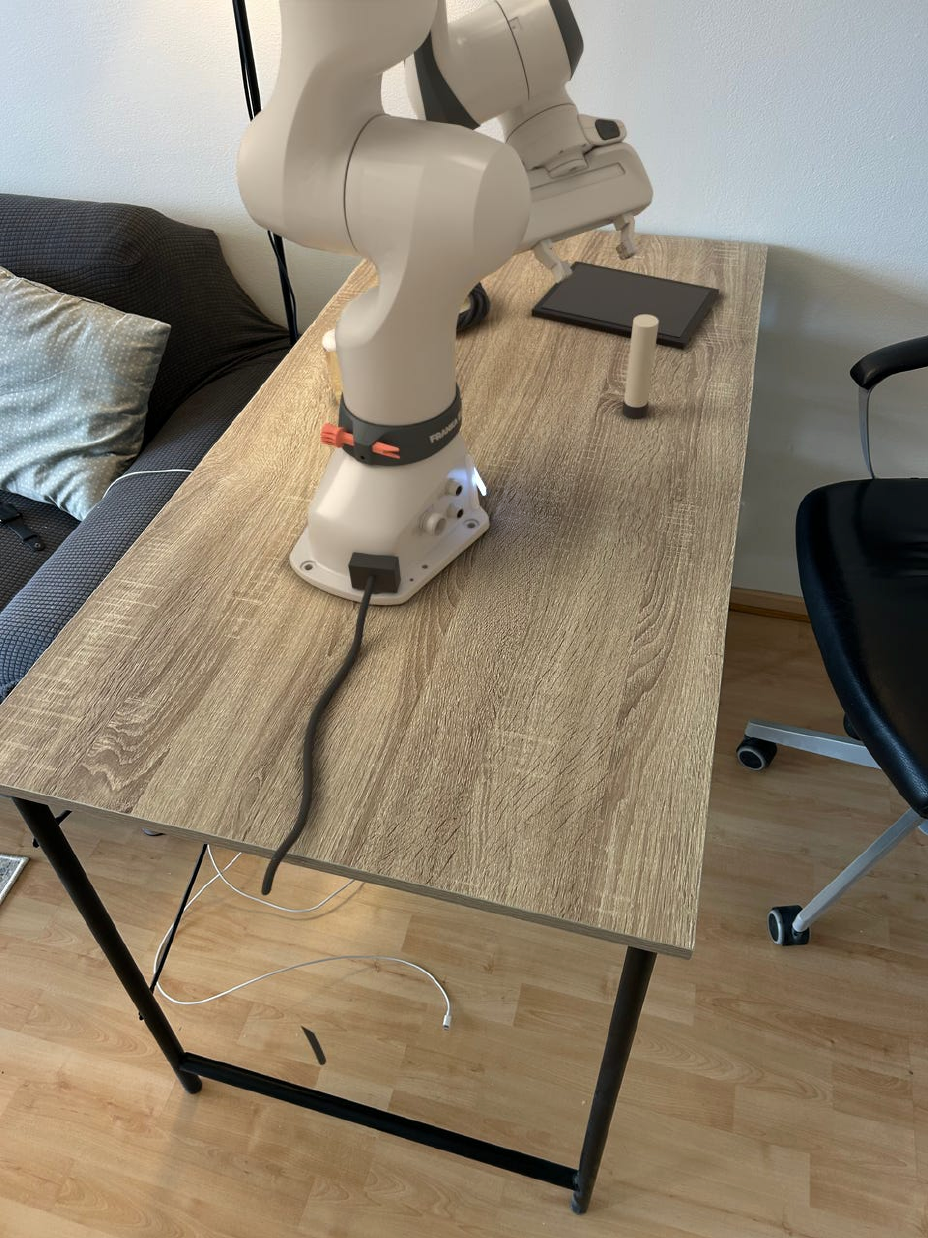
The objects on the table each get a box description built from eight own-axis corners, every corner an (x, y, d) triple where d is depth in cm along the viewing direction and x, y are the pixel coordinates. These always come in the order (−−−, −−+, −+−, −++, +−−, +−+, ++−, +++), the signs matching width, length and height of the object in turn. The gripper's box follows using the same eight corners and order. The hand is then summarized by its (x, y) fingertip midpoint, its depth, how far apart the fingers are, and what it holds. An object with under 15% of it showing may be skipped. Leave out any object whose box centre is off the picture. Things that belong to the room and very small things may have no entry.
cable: (500, 299, 129) (500, 270, 126) (474, 349, 120) (473, 319, 117) (388, 286, 133) (385, 258, 129) (354, 334, 123) (350, 305, 120)
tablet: (683, 349, 118) (684, 342, 117) (531, 315, 125) (531, 308, 125) (718, 295, 128) (719, 288, 127) (575, 267, 135) (575, 259, 134)
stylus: (642, 421, 108) (654, 329, 99) (618, 415, 109) (628, 323, 100) (650, 408, 109) (663, 316, 101) (627, 402, 110) (637, 311, 102)
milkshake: (371, 408, 111) (362, 335, 104) (329, 409, 111) (316, 335, 104) (375, 388, 114) (366, 315, 107) (333, 388, 114) (321, 316, 107)
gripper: (485, 159, 96) (536, 282, 97) (634, 117, 103) (679, 232, 104) (464, 188, 102) (512, 304, 103) (606, 147, 109) (650, 256, 110)
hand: (597, 268), depth 104 cm, fingers open, 8 cm apart
